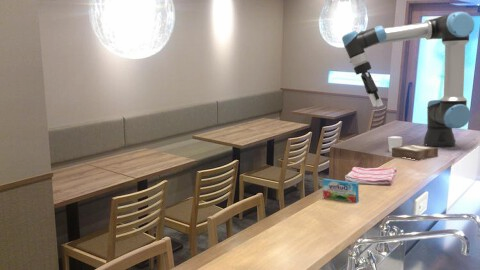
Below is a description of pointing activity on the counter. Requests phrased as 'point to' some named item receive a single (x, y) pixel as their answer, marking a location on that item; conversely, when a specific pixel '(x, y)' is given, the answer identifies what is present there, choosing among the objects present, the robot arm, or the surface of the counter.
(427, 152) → the block
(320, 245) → the counter surface
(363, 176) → the dish towel
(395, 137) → the white cup
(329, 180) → the blue flat box
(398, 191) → the counter surface
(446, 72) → the robot arm
